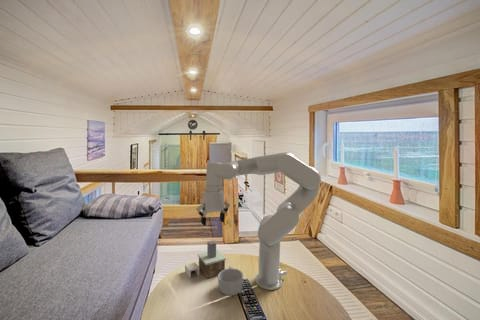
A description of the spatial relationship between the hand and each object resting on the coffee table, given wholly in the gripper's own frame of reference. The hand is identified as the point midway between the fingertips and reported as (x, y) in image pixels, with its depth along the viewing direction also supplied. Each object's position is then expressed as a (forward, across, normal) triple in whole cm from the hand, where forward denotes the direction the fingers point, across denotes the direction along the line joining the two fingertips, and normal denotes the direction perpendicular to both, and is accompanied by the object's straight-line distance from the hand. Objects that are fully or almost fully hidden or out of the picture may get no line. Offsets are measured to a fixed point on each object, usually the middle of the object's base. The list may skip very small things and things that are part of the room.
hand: (213, 223), depth 118 cm
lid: (+18, 0, -1) cm, 18 cm away
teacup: (+26, -2, +15) cm, 30 cm away
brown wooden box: (+26, -1, -1) cm, 26 cm away
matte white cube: (+26, +8, -5) cm, 28 cm away
